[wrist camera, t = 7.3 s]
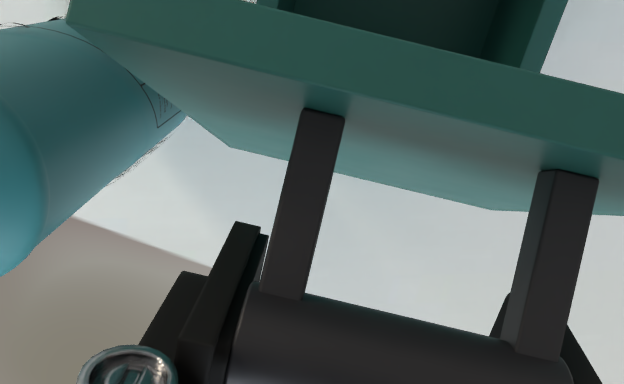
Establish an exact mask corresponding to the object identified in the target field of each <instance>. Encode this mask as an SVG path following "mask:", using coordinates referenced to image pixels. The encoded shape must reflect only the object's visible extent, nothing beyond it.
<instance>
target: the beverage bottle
mask: <svg viewBox="0 0 624 384" xmlns="http://www.w3.org/2000/svg"><path fill="white" fill-rule="evenodd" d="M60 18H62V17H60ZM4 24H5V23H4ZM15 24H18V23H15ZM0 25H1V24H0ZM20 25H23V24H20ZM186 116H187V114H185V113H184V112H183V111H181V110H180V109H179V108H177V107H176V106H175V105H173V104H172V103H171V102H169V101H168V100H167V99H165V98H164V97H163V96H161V95H160V94H159V93H157V92H156V91H155V90H153V89H152V88H151V87H149V86H148V85H147V84H145V83H144V82H143V81H141V80H140V79H139V78H137V77H136V76H135V75H133V74H132V73H131V72H130V71H128V70H127V69H126V68H124V67H123V66H122V65H120V64H119V63H118V62H116V61H115V60H114V59H112V58H111V57H110V56H108V55H107V54H106V53H104V52H103V51H102V50H100V49H99V48H98V47H96V46H95V45H94V44H92V43H91V42H90V41H88V40H87V39H86V38H84V37H83V36H82V35H80V34H79V33H78V32H76V31H75V30H74V29H72V28H71V27H70V26H68V25H67V24H66V18H65V19H59V17H55V18H52V19H51V20H49V21H47V22H42V23H36V24H30V25H23V26H17V27H13V28H7V29H1V30H0V276H3V275H4V274H6V273H8V272H9V271H11V270H12V269H14V268H15V267H16V266H17V265H19V264H20V263H21V262H22V261H23V260H24V259H25V258H26V257H27V256H28V255H29V254H30V253H31V251H32V250H33V249H34V247H35V246H37V245H38V244H39V243H40V242H41V241H42V240H44V239H45V238H46V237H47V236H48V235H49V234H51V232H53V231H54V230H55V229H56V228H57V227H59V226H60V225H61V224H62V223H63V222H64V221H66V220H67V219H68V218H69V217H70V216H71V215H72V214H74V213H75V212H76V211H77V210H78V209H79V208H81V207H82V206H83V205H84V204H85V203H86V202H88V201H89V200H90V199H91V198H92V197H93V196H94V195H96V194H97V193H98V192H99V191H100V190H101V189H103V188H104V187H105V186H106V185H107V184H108V183H110V182H111V181H112V180H113V179H114V178H115V177H116V178H118V177H117V176H119V177H120V175H119V174H121V173H122V172H124V171H125V170H126V169H127V168H129V167H130V166H131V165H133V164H134V163H135V162H136V161H137V160H138V159H140V158H141V157H142V156H143V155H144V154H145V153H146V155H147V152H148V151H149V150H150V149H151V148H152V147H154V146H155V145H156V144H158V142H159V141H161V140H162V139H163V138H164V137H165V136H167V135H168V134H169V133H170V132H171V131H172V130H174V129H175V128H176V127H177V126H178V125H179V124H180V123H181V122H182V121H183V120H184V119H185V117H186ZM167 138H168V137H167ZM169 138H170V137H169ZM165 139H166V138H165ZM163 141H164V140H163ZM163 141H162V142H163ZM159 143H160V142H159ZM161 145H162V144H161ZM157 147H158V146H157ZM155 148H156V147H155ZM155 148H153V149H154V150H155ZM153 149H151V150H152V151H153ZM151 150H150V153H151ZM153 152H154V151H153ZM148 154H149V152H148ZM144 156H145V155H144ZM144 158H145V157H144ZM142 159H143V158H142ZM145 159H146V158H145ZM140 160H141V159H140ZM138 161H139V160H138ZM139 162H140V161H139ZM137 163H138V162H137ZM138 164H139V163H138ZM135 166H136V165H135ZM137 166H138V165H137ZM133 167H134V165H133ZM131 168H132V166H131ZM131 168H130V169H131ZM131 171H132V170H131ZM128 172H129V171H128ZM126 173H127V171H126ZM124 174H125V172H124ZM127 174H128V173H127ZM121 175H123V174H121ZM123 177H124V176H123ZM118 180H119V179H118ZM113 183H114V182H113ZM111 184H112V183H111ZM109 185H110V184H109Z"/></svg>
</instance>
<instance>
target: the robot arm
mask: <svg viewBox="0 0 624 384" xmlns="http://www.w3.org/2000/svg"><path fill="white" fill-rule="evenodd" d="M260 230H261V227H259V226H255V225H251V224H246V223H242V222H238V221H235V223H234V225H233V227H232V229H231V231H230V233H229V235H228V237H227V239H226V241H225V243H224V245H223V247H222V249H221V251H220V253H219V255H218V257H217V259H216V262H215V264H214V266H213V268H212V270H211V272H210V274H209V276H203V275H199V274H195V273H191V272H187V271H182V272H181V274H180V275H179V277H178V278H177V280H176V282H175V283H174V285H173V287H172V288H171V290H170V292H169V293H168V295H167V297H166V299H165V300H164V302H163V304H162V306H161V307H160V309H159V311H158V312H157V314H156V315H155V317H154V319H153V321H152V322H151V324H150V326H149V327H148V329H147V331H146V332H145V334H144V336H143V338H142V339H141V341H140V343H139V344H138V345H121V346H116V347H112V348H109V349H106V350H103V351H101V352H100V353H98V354H96V355H94V356H92V357H91V358H90V359H89V360H88V361H87V362H86V363H85V364H84V365H83V367H82V369H81V371H80V373H79V375H78V378H77V382H76V384H223V383H224V377H225V372H226V368H227V363H228V359H229V355H230V351H231V346H232V342H233V339H234V335H235V331H236V327H237V323H238V320H239V316H240V313H241V309H242V306H243V303H244V299H245V296H246V293H247V291H248V288H249V286H250V284H251V283H252V282H253V281H257V282H259V281H260V276H261V271H262V267H263V262H264V257H265V253H266V248H267V243H268V238H269V236H268V235H264V234H260ZM509 297H510V293H509V294H508V295H507V296H506V298H505V300H504V303H503V305H502V307H501V310H500V312H499V314H498V317H497V319H496V321H495V323H494V326H493V328H492V330H491V333H490V335H489V337H493V338H497V339H500V336H501V331H502V327H503V323H504V318H505V314H506V310H507V305H508V301H509ZM560 357H561V358H562V359H563V360H564V361H565V363H566V364H567V366H568V368H569V370H570V372H571V375H572V378H573V382H574V384H602V382H601V381H600V379H599V377H598V376H597V374H596V372H595V371H594V369H593V367H592V366H591V364H590V362H589V360H588V359H587V357H586V355H585V354H584V352H583V350H582V349H581V347H580V345H579V344H578V342H577V340H576V339H575V337H574V335H573V334H572V332H571V330H570V329H569V327H568V325H567V326H566V330H565V334H564V339H563V343H562V348H561V352H560Z"/></svg>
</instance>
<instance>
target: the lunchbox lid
mask: <svg viewBox="0 0 624 384" xmlns="http://www.w3.org/2000/svg"><path fill="white" fill-rule="evenodd" d="M66 24H67V25H68V26H70V27H71V28H72V29H74V30H75V31H76V32H78V33H79V34H80V35H82V36H83V37H84V38H86V39H87V40H88V41H90V42H91V43H92V44H94V45H95V46H96V47H98V48H99V49H100V50H102V51H103V52H104V53H106V54H107V55H108V56H110V57H111V58H112V59H114V60H115V61H116V62H118V63H119V64H120V65H122V66H123V67H124V68H126V69H127V70H128V71H130V72H131V73H132V74H133V75H135V76H136V77H137V78H139V79H140V80H141V81H143V82H144V83H145V84H147V85H148V86H149V87H151V88H152V89H153V90H155V91H156V92H157V93H159V94H160V95H161V96H163V97H164V98H165V99H167V100H168V101H169V102H171V103H172V104H173V105H175V106H176V107H177V108H179V109H180V110H181V111H183V112H184V113H185V114H187V115H188V116H189V117H191V118H192V119H193V120H195V121H196V122H197V123H198V124H200V125H201V126H202V127H204V128H205V129H206V130H208V131H209V132H210V133H212V134H213V135H214V136H216V137H217V138H218V139H220V140H221V141H222V142H224V143H225V144H226V145H228V146H229V147H232V148H236V149H240V150H244V151H248V152H253V153H257V154H261V155H265V156H269V157H273V158H277V159H282V160H286V161H289V163H288V167H287V171H286V175H285V179H284V184H283V188H282V192H281V196H280V200H279V204H278V208H277V213H276V217H275V221H274V225H273V229H272V233H271V237H270V242H269V246H268V250H267V254H266V258H265V262H264V266H263V271H262V275H261V279H260V282H257V281H253V282H252V283H251V284H250V286H249V288H248V291H247V293H246V296H245V299H244V303H243V306H242V309H241V313H240V316H239V320H238V323H237V327H236V331H235V335H234V339H233V342H232V346H231V351H230V355H229V359H228V363H227V368H226V372H225V377H224V383H223V384H574V382H573V378H572V375H571V372H570V370H569V368H568V366H567V364H566V363H565V361H564V360H563V359H562V358H561V357H560V352H561V348H562V343H563V339H564V334H565V330H566V326H567V321H568V317H569V313H570V308H571V304H572V299H573V295H574V291H575V286H576V282H577V277H578V273H579V269H580V264H581V260H582V255H583V251H584V247H585V242H586V238H587V234H588V229H589V225H590V220H591V216H592V214H593V215H616V216H624V94H622V93H618V92H614V91H610V90H606V89H602V88H598V87H593V86H589V85H585V84H581V83H577V82H573V81H569V80H565V79H561V78H557V77H553V76H549V75H544V74H540V73H536V72H532V71H528V70H524V69H520V68H516V67H512V66H508V65H504V64H499V63H495V62H491V61H487V60H483V59H479V58H475V57H471V56H467V55H463V54H459V53H455V52H450V51H446V50H442V49H438V48H434V47H430V46H426V45H422V44H418V43H414V42H410V41H405V40H401V39H397V38H393V37H389V36H385V35H381V34H377V33H373V32H369V31H365V30H361V29H356V28H352V27H348V26H344V25H340V24H336V23H332V22H328V21H324V20H320V19H316V18H311V17H307V16H303V15H299V14H295V13H291V12H287V11H283V10H279V9H275V8H271V7H267V6H262V5H258V4H254V3H250V2H246V1H242V0H70V4H69V8H68V12H67V16H66ZM333 172H336V173H340V174H344V175H348V176H352V177H356V178H360V179H365V180H369V181H373V182H377V183H381V184H385V185H389V186H394V187H398V188H402V189H406V190H410V191H414V192H419V193H423V194H427V195H431V196H435V197H439V198H443V199H448V200H452V201H456V202H460V203H464V204H468V205H472V206H477V207H481V208H485V209H489V210H501V211H524V212H529V214H528V219H527V223H526V227H525V232H524V236H523V240H522V245H521V249H520V253H519V258H518V262H517V266H516V271H515V275H514V279H513V284H512V288H511V292H510V297H509V301H508V305H507V310H506V314H505V318H504V323H503V327H502V331H501V336H500V339H497V338H493V337H489V336H485V335H480V334H476V333H472V332H468V331H464V330H459V329H455V328H451V327H447V326H442V325H438V324H434V323H430V322H426V321H421V320H417V319H413V318H409V317H405V316H400V315H396V314H392V313H388V312H384V311H379V310H375V309H371V308H367V307H363V306H358V305H354V304H350V303H346V302H342V301H337V300H333V299H329V298H325V297H321V296H316V295H312V294H308V293H305V289H306V285H307V281H308V276H309V272H310V268H311V264H312V260H313V256H314V251H315V247H316V243H317V239H318V235H319V231H320V226H321V222H322V218H323V214H324V210H325V205H326V201H327V197H328V193H329V189H330V185H331V180H332V176H333Z"/></svg>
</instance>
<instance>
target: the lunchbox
mask: <svg viewBox="0 0 624 384" xmlns="http://www.w3.org/2000/svg"><path fill="white" fill-rule="evenodd" d="M567 2H568V0H257V3H256V4H258V5H262V6H267V7H271V8H275V9H279V10H283V11H287V12H291V13H295V14H299V15H303V16H307V17H311V18H316V19H320V20H324V21H328V22H332V23H336V24H340V25H344V26H348V27H352V28H356V29H361V30H365V31H369V32H373V33H377V34H381V35H385V36H389V37H393V38H397V39H401V40H405V41H410V42H414V43H418V44H422V45H426V46H430V47H434V48H438V49H442V50H446V51H450V52H455V53H459V54H463V55H467V56H471V57H475V58H479V59H483V60H487V61H491V62H495V63H499V64H504V65H508V66H512V67H516V68H520V69H524V70H528V71H532V72H536V73H540V71H541V68H542V66H543V63H544V61H545V58H546V55H547V53H548V50H549V48H550V45H551V43H552V40H553V38H554V35H555V32H556V30H557V27H558V25H559V22H560V20H561V17H562V15H563V12H564V9H565V7H566V4H567Z"/></svg>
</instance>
